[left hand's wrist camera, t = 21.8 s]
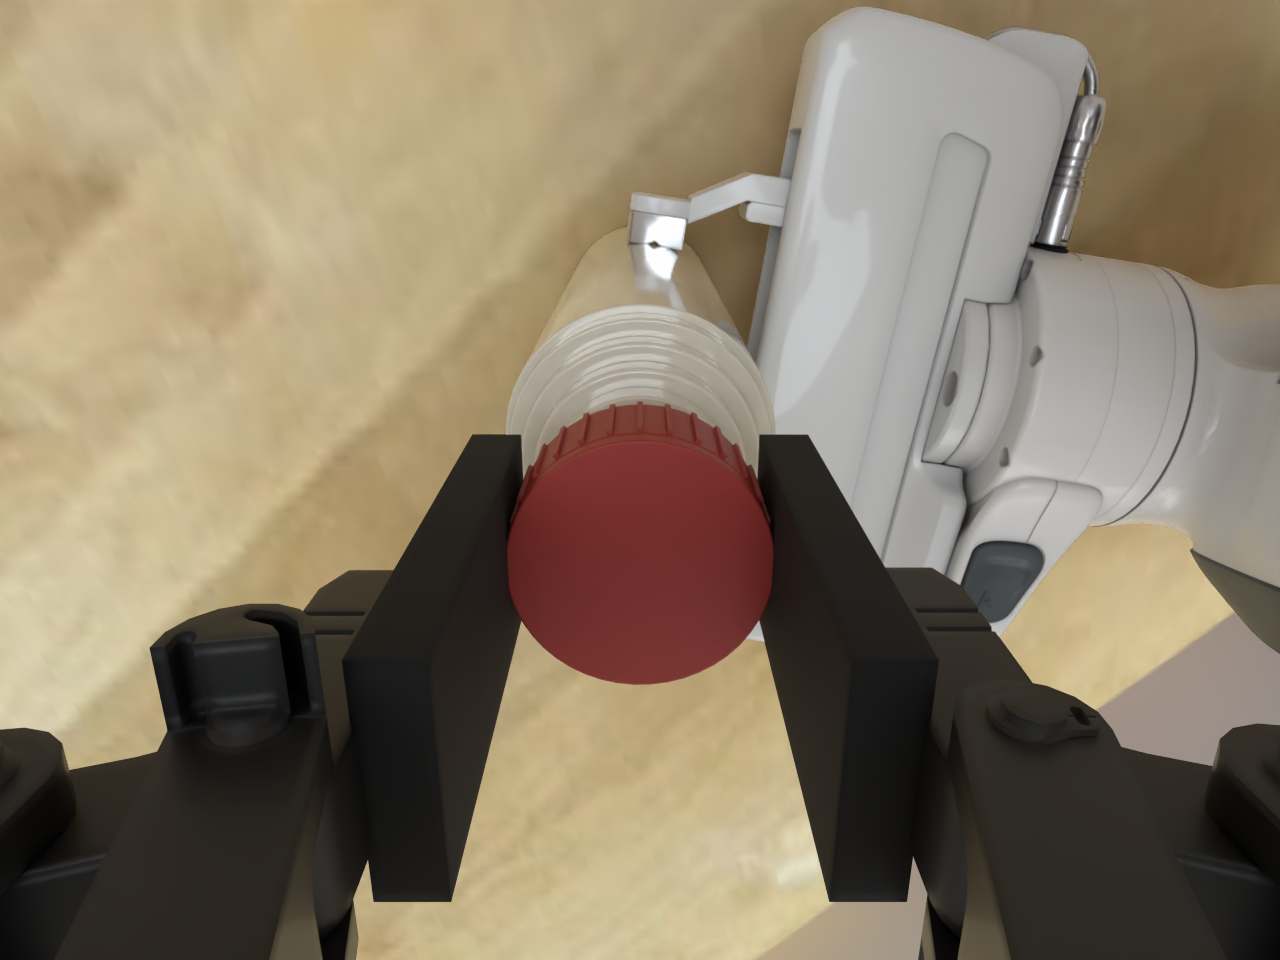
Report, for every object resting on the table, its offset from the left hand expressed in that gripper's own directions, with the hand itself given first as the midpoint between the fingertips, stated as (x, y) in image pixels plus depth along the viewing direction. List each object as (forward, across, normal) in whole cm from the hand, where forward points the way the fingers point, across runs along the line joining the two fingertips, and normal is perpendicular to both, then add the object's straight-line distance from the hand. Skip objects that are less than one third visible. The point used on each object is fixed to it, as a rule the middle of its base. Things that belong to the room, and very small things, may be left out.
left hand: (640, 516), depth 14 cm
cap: (-2, 0, 0) cm, 2 cm away
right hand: (+16, -1, 0) cm, 16 cm away
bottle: (+22, 0, 0) cm, 22 cm away
